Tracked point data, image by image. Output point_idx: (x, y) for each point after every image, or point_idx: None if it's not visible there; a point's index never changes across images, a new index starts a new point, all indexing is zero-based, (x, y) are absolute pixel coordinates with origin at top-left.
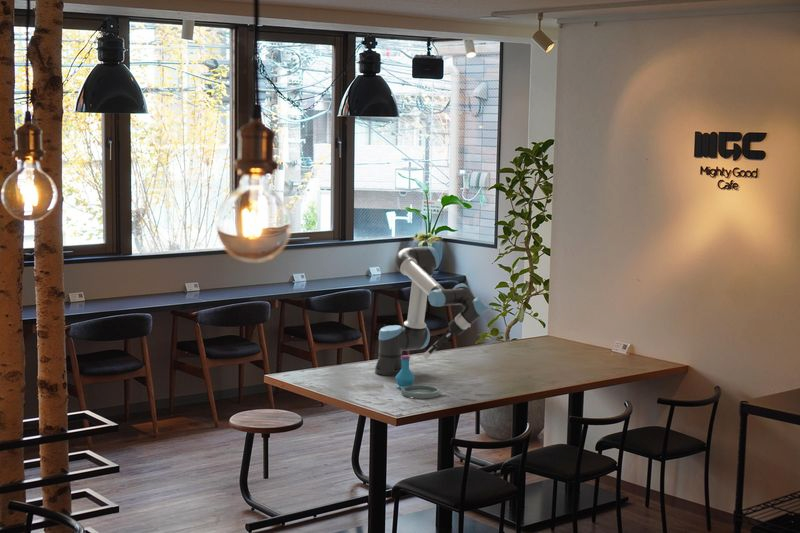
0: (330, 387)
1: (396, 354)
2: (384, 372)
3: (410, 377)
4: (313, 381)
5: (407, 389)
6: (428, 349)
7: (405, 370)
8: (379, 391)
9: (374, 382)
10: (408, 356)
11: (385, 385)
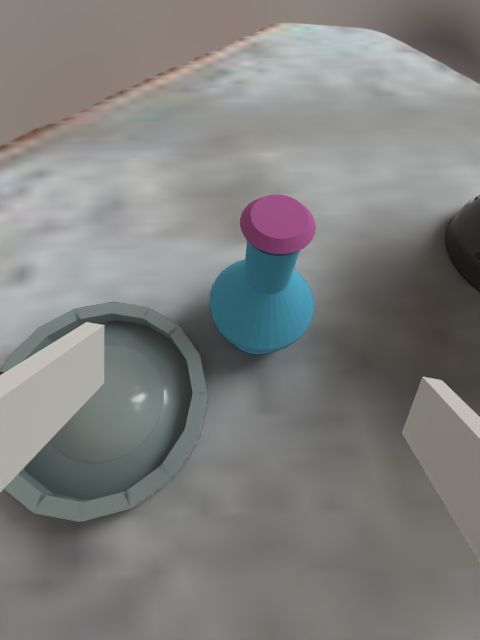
0: (213, 107)
1: None
2: (453, 228)
3: (225, 324)
4: (285, 73)
5: (159, 332)
6: (16, 366)
7: (241, 278)
8: (162, 232)
9: (314, 211)
10: (262, 234)
11: None
